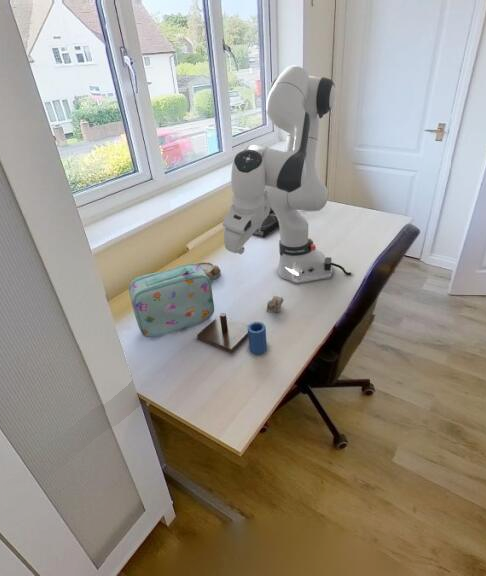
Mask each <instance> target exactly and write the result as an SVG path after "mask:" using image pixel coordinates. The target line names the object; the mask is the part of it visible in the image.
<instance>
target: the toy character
mask: <svg viewBox="0 0 486 576" xmlns="http://www.w3.org/2000/svg"><path fill="white" fill-rule="evenodd" d="M283 302H284V298H283V297H282V296H277V295H273V296H272V298H271V299H270V300H269V301H268V302H267V305H266V310H265V311H266V312H267V313H268V314H273V312H274V313H277V314H278V313H279V311H280V310H281V307H282V305H283Z"/></svg>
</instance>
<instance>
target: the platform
mask: <svg viewBox="0 0 486 576" xmlns="http://www.w3.org/2000/svg"><path fill="white" fill-rule="evenodd" d="M196 337H197V340H198V341H200V342H202V343H205V344H207V345H210V346H212V347H214V348H217V349H218V350H221V351H224V352H226V353H228V354H231V355H232V354H233V353H235V352H236V351H237V349H239V347H240V346H241V345H243V343H244V342H245V341H246V340H247V339H248V325H246V324H245V323H244V324H243V323H241V322H238V321H236V320H233V319H232V318H228V317H227V313H225V312H220V314H219V315H218V316H217V317H216V318H214V320H212V321H211V322H210V323H209V324H207V326H205V327H204V328H203V329H202V330H201V331H200V332H198V333H197V334H196Z"/></svg>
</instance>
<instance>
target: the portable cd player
mask: <svg viewBox="0 0 486 576" xmlns="http://www.w3.org/2000/svg"><path fill="white" fill-rule="evenodd" d="M278 229H280V228H279V222H278V219H277V217H276V215H272V214H269V215H268V216H267V217H266V219H265V220H264V221H263V223H262V225H261V228H260V233H259V234H258V235H256V234H254V233H253V235H252V236H256V237H260V238H263V239H265V238H266V237H267V236H269V235H270V234H272V233H273V232H275V231H276V230H278Z"/></svg>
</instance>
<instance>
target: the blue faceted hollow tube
mask: <svg viewBox="0 0 486 576" xmlns="http://www.w3.org/2000/svg"><path fill="white" fill-rule="evenodd" d="M247 326H248V338H247V339H248V348H249V352H250V354H252V355H254V356H261V355H264V354H265V353H266V352H267V350H268V346H267V344H268V343H267V329H266V328H267V327H266V325H265V323H264V322H261V321H253V322H250V323H249V324H248V325H247Z"/></svg>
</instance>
